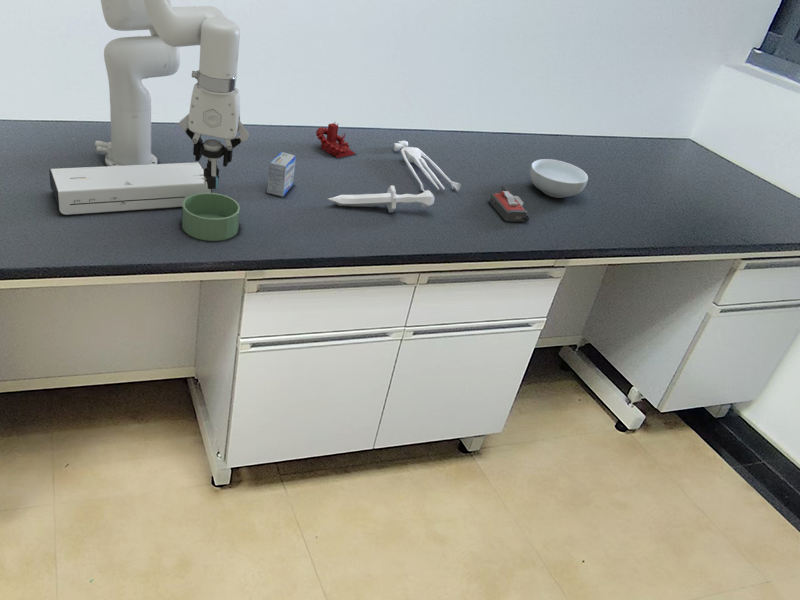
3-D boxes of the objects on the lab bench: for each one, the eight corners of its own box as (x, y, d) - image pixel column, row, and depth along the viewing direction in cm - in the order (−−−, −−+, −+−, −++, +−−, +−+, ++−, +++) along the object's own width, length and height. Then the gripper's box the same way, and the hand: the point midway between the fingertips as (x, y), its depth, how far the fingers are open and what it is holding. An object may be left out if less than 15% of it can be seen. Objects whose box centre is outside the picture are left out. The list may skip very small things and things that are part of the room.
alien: (413, 146, 239) (417, 131, 236) (458, 201, 217) (463, 185, 214) (378, 146, 234) (382, 131, 231) (420, 202, 212) (425, 186, 209)
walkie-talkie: (534, 224, 209) (504, 190, 224) (539, 210, 206) (508, 176, 222) (506, 224, 206) (477, 189, 221) (510, 209, 203) (481, 175, 218)
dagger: (327, 208, 192) (437, 204, 195) (325, 185, 193) (436, 181, 196) (326, 217, 199) (433, 213, 203) (325, 194, 200) (431, 190, 204)
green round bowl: (175, 235, 171) (175, 213, 168) (190, 209, 182) (190, 188, 179) (231, 244, 172) (233, 223, 169) (243, 219, 183) (244, 198, 180)
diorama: (353, 161, 221) (357, 134, 217) (311, 154, 220) (315, 126, 216) (355, 147, 230) (360, 120, 226) (316, 140, 229) (319, 113, 225)
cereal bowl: (567, 181, 238) (574, 160, 234) (590, 206, 225) (597, 184, 221) (517, 177, 233) (523, 156, 230) (537, 203, 220) (544, 181, 216)
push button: (195, 176, 173) (195, 135, 167) (218, 175, 175) (220, 134, 169) (202, 190, 168) (203, 148, 162) (226, 189, 170) (228, 147, 165)
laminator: (58, 216, 169) (56, 191, 166) (50, 190, 177) (48, 166, 174) (211, 205, 185) (212, 182, 182) (196, 182, 194) (197, 159, 190)
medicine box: (283, 197, 195) (286, 166, 190) (266, 193, 196) (269, 162, 191) (293, 185, 202) (296, 155, 197) (276, 181, 202) (279, 150, 197)
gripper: (170, 78, 155) (168, 160, 165) (255, 96, 156) (247, 176, 166) (180, 67, 161) (177, 147, 171) (262, 83, 162) (254, 161, 172)
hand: (212, 160), depth 168 cm, fingers closed on push button, 5 cm apart
